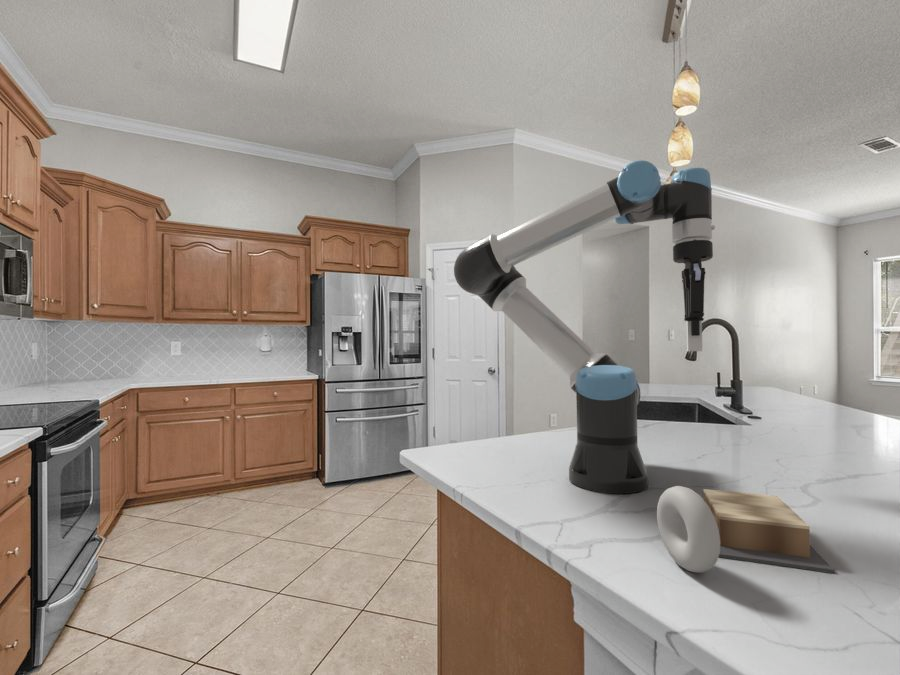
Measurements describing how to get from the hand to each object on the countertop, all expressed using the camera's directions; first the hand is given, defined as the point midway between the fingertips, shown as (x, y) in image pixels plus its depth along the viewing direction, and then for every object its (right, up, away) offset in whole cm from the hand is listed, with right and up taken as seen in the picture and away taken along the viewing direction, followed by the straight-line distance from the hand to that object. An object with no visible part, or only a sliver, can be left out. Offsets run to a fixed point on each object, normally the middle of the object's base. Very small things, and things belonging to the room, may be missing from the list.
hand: (694, 351), depth 94 cm
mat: (-10, -26, -32) cm, 43 cm away
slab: (-7, -24, -25) cm, 35 cm away
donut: (-23, -26, -40) cm, 53 cm away
